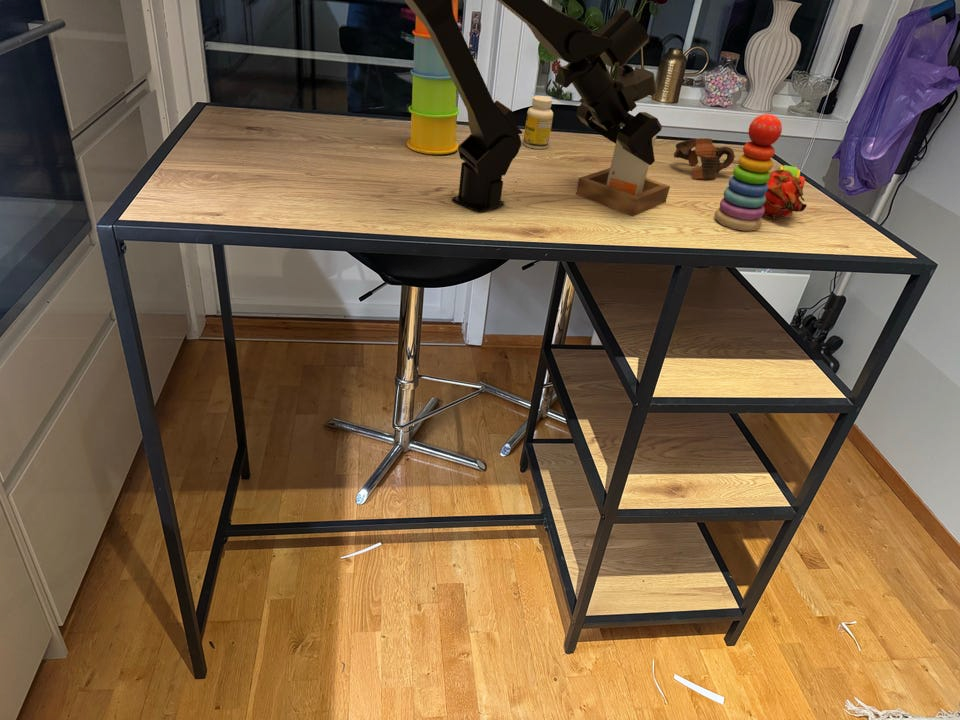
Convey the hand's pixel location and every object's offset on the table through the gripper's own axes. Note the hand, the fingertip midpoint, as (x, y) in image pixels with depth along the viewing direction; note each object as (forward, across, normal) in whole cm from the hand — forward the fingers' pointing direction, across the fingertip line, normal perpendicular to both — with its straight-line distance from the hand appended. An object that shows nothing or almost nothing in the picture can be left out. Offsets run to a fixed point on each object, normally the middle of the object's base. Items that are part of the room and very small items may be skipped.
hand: (637, 154), depth 125 cm
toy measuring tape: (+31, -1, -19) cm, 36 cm away
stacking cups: (-14, +29, +26) cm, 41 cm away
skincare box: (+5, 0, +7) cm, 8 cm away
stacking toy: (+16, -13, -4) cm, 21 cm away
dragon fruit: (+24, -10, -12) cm, 28 cm away
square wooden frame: (+7, +2, +4) cm, 9 cm away
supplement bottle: (+2, +30, +9) cm, 31 cm away
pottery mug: (+24, +12, -12) cm, 29 cm away
